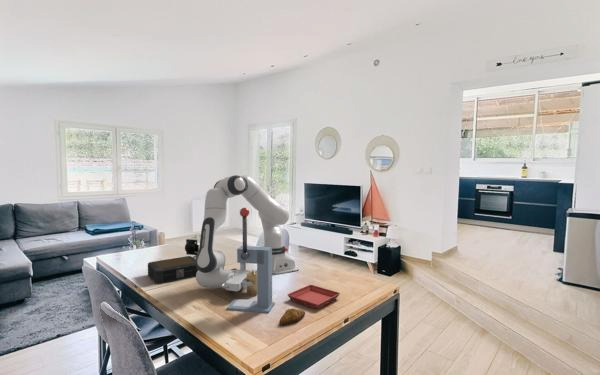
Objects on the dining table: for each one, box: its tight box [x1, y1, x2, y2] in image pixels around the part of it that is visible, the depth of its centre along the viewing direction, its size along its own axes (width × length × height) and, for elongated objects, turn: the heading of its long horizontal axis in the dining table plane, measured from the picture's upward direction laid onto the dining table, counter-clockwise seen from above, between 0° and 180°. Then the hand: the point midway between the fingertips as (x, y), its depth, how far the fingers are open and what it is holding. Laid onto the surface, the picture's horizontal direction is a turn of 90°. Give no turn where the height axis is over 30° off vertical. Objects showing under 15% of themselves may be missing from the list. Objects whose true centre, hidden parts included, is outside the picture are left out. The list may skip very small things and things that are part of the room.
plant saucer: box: [287, 284, 341, 310], centre depth 154 cm, size 18×18×3 cm
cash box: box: [147, 255, 198, 285], centre depth 189 cm, size 25×20×8 cm
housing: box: [246, 269, 257, 296], centre depth 162 cm, size 5×5×12 cm
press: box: [225, 245, 275, 314], centre depth 146 cm, size 19×10×26 cm, turn 80°
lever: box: [239, 207, 250, 260], centre depth 140 cm, size 4×4×22 cm
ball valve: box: [184, 234, 201, 259], centre depth 215 cm, size 18×8×18 cm, turn 168°
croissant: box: [279, 308, 306, 326], centre depth 134 cm, size 14×7×5 cm, turn 135°
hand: (255, 281), depth 162 cm, fingers closed on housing, 5 cm apart
